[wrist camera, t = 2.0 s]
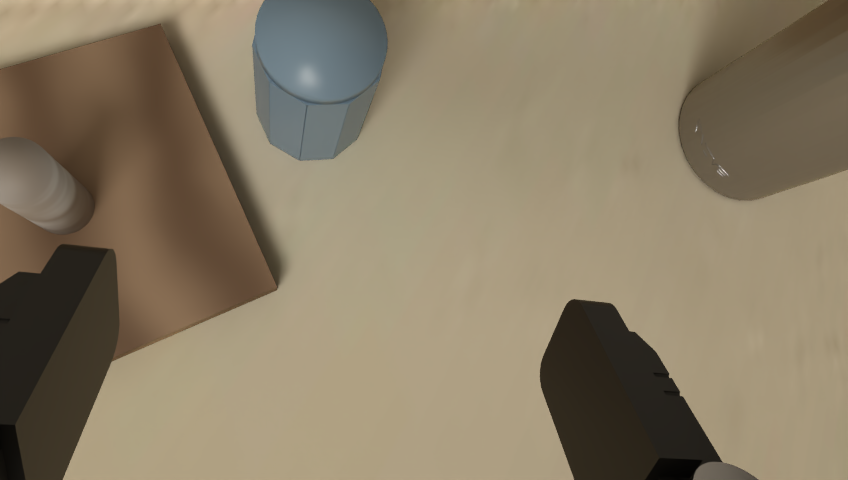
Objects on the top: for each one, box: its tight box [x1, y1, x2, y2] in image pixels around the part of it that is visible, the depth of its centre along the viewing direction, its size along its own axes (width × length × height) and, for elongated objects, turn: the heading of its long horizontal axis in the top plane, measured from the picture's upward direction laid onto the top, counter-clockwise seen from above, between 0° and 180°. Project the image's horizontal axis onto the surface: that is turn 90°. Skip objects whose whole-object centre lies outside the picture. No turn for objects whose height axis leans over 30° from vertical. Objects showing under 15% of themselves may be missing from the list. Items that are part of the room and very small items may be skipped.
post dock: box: [0, 24, 277, 361], centre depth 29 cm, size 16×16×8 cm
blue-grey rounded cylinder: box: [252, 0, 388, 161], centre depth 33 cm, size 6×6×9 cm
